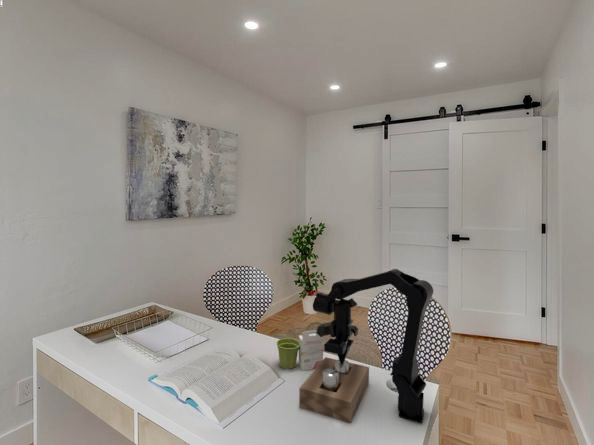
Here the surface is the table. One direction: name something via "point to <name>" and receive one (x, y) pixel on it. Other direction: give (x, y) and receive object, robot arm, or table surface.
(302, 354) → the ink cartridge box
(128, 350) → the table surface
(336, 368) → the peg far
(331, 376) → the peg near
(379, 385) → the table surface
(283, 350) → the plant pot
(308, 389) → the walnut block
